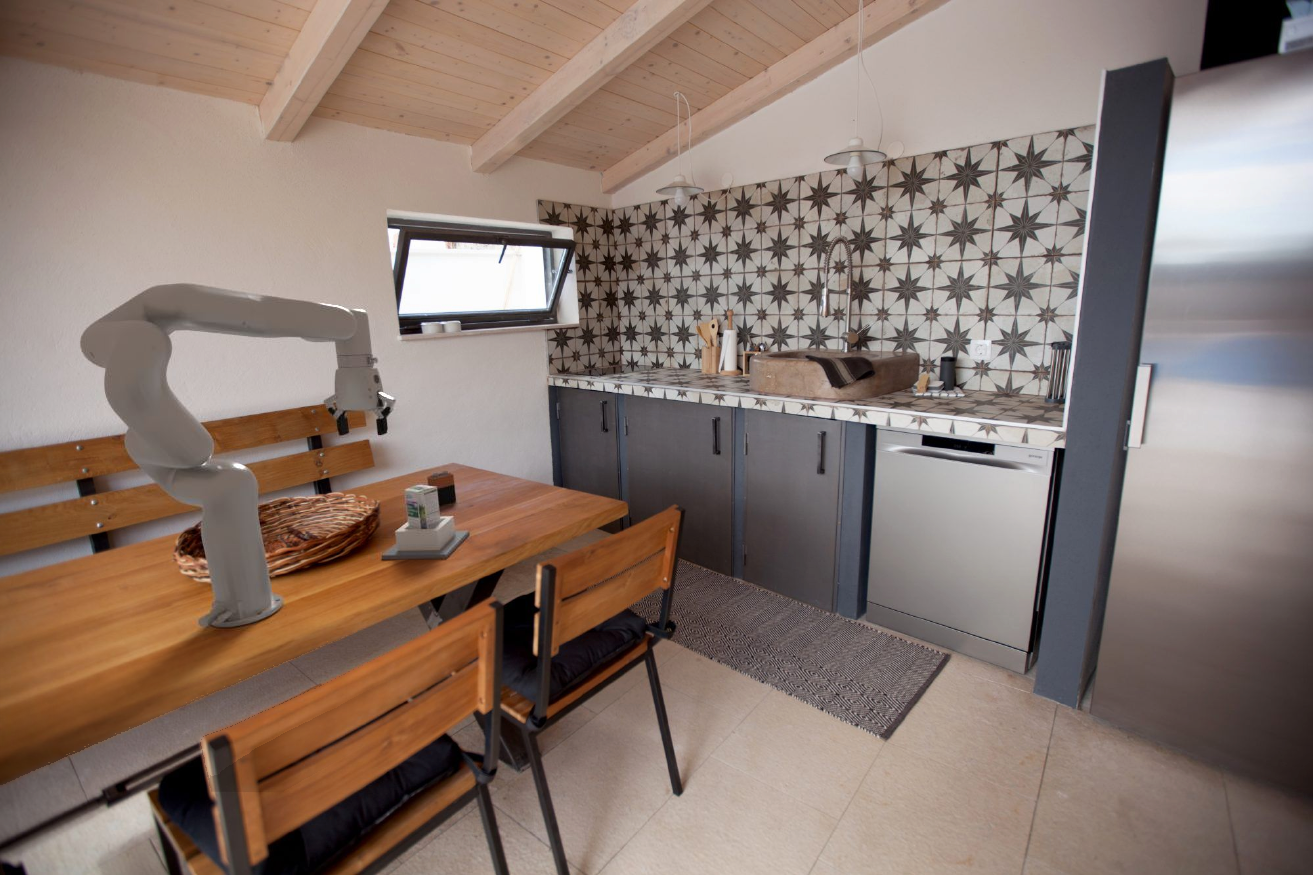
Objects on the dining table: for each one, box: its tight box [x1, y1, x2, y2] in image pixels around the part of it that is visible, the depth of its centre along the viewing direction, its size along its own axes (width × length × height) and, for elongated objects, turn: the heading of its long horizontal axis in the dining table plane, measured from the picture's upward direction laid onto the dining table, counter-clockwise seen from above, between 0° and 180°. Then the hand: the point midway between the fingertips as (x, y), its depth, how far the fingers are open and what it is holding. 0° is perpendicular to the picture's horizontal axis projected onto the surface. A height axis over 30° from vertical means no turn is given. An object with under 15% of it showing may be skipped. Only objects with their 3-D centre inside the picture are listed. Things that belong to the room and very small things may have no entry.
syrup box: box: [404, 484, 441, 529], centre depth 154 cm, size 6×6×14 cm
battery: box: [426, 470, 457, 507], centre depth 189 cm, size 4×7×10 cm, turn 137°
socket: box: [381, 515, 470, 560], centre depth 155 cm, size 16×16×6 cm
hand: (363, 434), depth 146 cm, fingers open, 9 cm apart
